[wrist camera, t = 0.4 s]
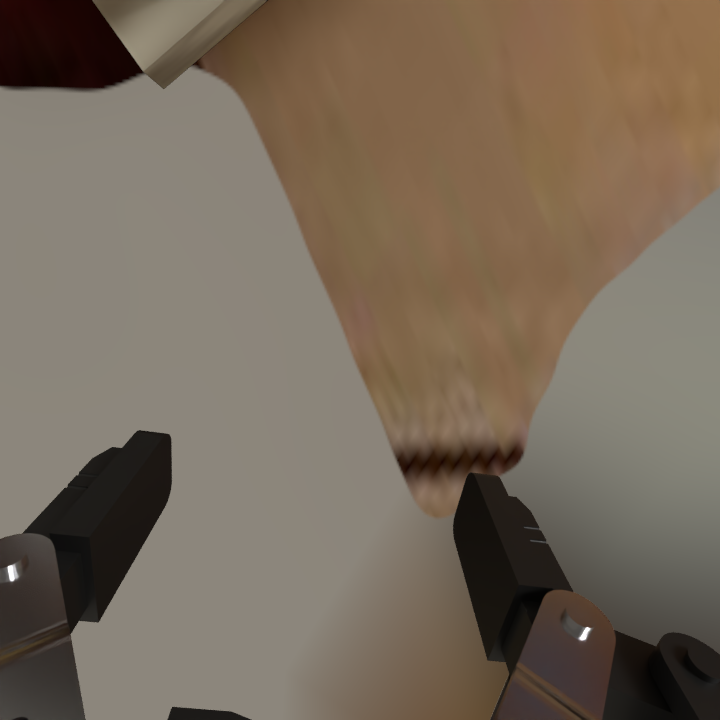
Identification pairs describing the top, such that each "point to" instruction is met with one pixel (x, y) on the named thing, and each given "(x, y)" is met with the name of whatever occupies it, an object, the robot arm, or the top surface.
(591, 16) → the top surface
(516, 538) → the robot arm
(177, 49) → the hub plate
